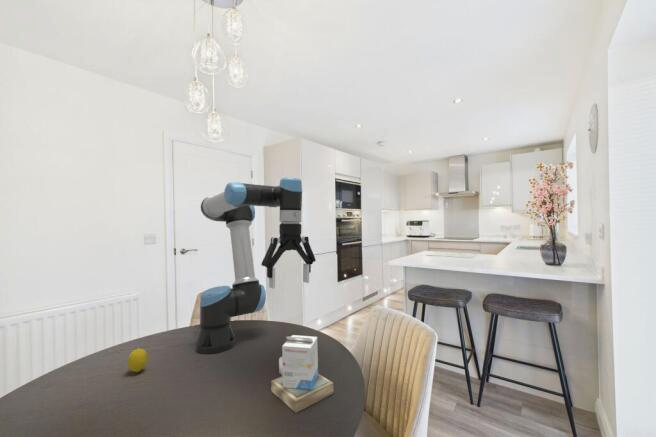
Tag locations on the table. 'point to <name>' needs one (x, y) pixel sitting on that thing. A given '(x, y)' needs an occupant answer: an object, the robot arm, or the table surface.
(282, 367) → the white domed cylinder
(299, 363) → the ink box
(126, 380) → the table surface
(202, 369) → the table surface
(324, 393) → the oak picture frame
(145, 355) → the lemon
